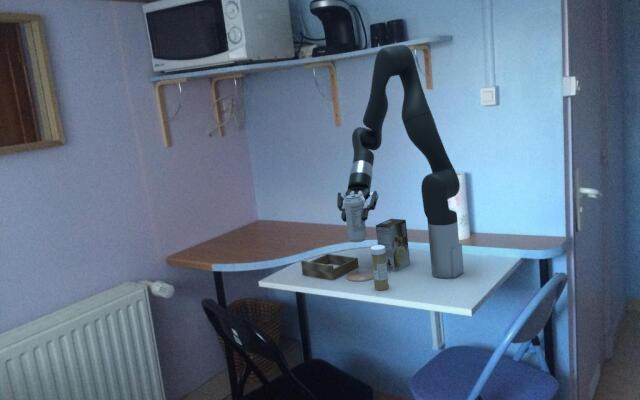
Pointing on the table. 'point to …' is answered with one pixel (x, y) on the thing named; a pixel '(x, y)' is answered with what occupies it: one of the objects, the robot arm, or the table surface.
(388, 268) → the coffee box
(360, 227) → the energy drink can
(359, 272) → the terracotta saucer
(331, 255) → the brown square open frame
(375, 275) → the sprinkles bottle
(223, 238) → the table surface
